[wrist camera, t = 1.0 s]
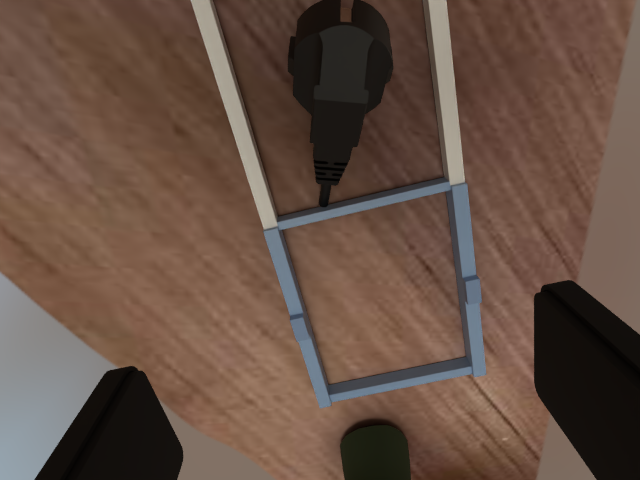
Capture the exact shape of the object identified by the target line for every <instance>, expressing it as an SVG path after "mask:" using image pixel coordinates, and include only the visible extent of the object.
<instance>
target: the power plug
mask: <svg viewBox="0 0 640 480" xmlns="http://www.w3.org/2000/svg"><path fill="white" fill-rule="evenodd" d="M392 71H393V58H392V49H391V44H390V34H389V28H388V26H387V23H386V22H385V20H384V18H383V17H382V15H381V14H380V13H379V12H378V11H377V10H376V9H375V8H374V7H372V6H371V5H369V4H368V3H366V2H364V1H361V0H354V2H353V8H352V9H350V8H341V0H322V1H320V2H318V3H316V4H314V5H312V6H311V7H310V8H308V9H307V10H306V11H305V12H304V13H303V14H302V15H301V16H300V18H299V19H298V22H297V31H296V37H294V36H291V38H290V46H289V54H288V72H289V73H290V74H292V75H293V76H294V81H293V95H294V97H295V98H296V100H297V101H298V102H299V103H300V104H301V105H302V106H303V107H304V108H305V109H306V110H307V111H308V112H309V113H310V114H311V116H312V120H311V132H310V143H313V144H314V148H313V158H314V167H315V175H316V182H317V183H318V184H321V191H320V198H319V205H320V206H321V207H327V206H328V202H329V196H330V190H331V185H338V183H339V181H340V178H341V177H342V174H343V173H344V170H345V168H346V166H347V164H348V162H349V160H350V156H351V151H352V148H353V147H357V146H358V142H359V138H360V134H361V129H362V125H363V120H364V116H365V114H366V113H368V112H369V111H371V110H372V109H374V108H375V107H376V106H377V105H378V104H380V102H381V98H382V95H383V91H384V87H385V84H386V83H387V82H389V81H390V78H391V75H392Z"/></svg>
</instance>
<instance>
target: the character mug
mask: <svg viewBox="0 0 640 480" xmlns="http://www.w3.org/2000/svg"><path fill="white" fill-rule="evenodd" d="M340 448H341V457H342V465H343V472H344V478H345V480H411V475H410V459H409V451H408V443H407V439H406V438H405V436H404V435H403V434H402V433H401V431H399V430H397V429H395V428H393V427H391V426H389V425H377V426H369V427H365V428H360V429H357V430H355V431H353V432H352V433H350V434H348V435H346V436H345V438H344V440H343V441H342V443H341V444H340Z"/></svg>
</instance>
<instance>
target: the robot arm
mask: <svg viewBox="0 0 640 480" xmlns="http://www.w3.org/2000/svg"><path fill="white" fill-rule="evenodd" d="M534 383H535V388H536V391H537V393H538V396H539V397H540V399H541V401H542V402H543V403H544V405H545V406H546V408H547V409H548V411H549V412H550V413H551V415H552V416H553V418H554V419H555V421H556V422H557V423H558V425H559V426H560V428H561V429H562V431H563V432H564V434H565V435H566V436H567V438H568V439H569V441H570V442H571V443H572V445H573V446H574V448H575V449H576V451H577V452H578V453H579V455H580V456H581V458H582V459H583V461H584V462H585V464H586V465H587V466H588V468H589V469H590V471H591V472H592V473H593V475H594V476H595V478H596V479H597V480H640V335H639V334H638V333H637V332H636V331H634V330H633V329H632V328H631V327H629V326H628V325H627V324H626V323H625V322H623V321H622V320H621V319H620V318H618V317H617V316H616V315H615V314H613V313H612V312H611V311H610V310H608V309H607V308H606V307H605V306H604V305H602V304H601V303H600V302H598V301H597V300H596V299H595V298H593V297H592V296H591V295H590V294H589V293H587V292H586V291H585V290H584V289H582V288H581V287H580V286H579V285H578V284H576V283H575V282H573V281H571V280H567V281H562V282H557V283H552V284H547V285H544V286H542V288H541V292H540V293H536V294H535V296H534ZM182 462H183V450H182V446H181V444H180V442H179V440H178V438H177V436H176V434H175V432H174V430H173V428H172V426H171V424H170V422H169V420H168V418H167V416H166V414H165V412H164V410H163V408H162V406H161V404H160V402H159V400H158V398H157V396H156V394H155V392H154V390H153V388H152V386H151V384H150V382H149V380H148V378H147V376H146V374H145V373H144V372H143V371H138V369H137V368H135V367H134V366H129V367H124V368H119V369H114V370H110V371H107V372H106V373H105V374H104V376H103V377H102V379H101V380H100V382H99V383H98V385H97V386H96V388H95V389H94V391H93V392H92V394H91V395H90V397H89V398H88V400H87V401H86V403H85V404H84V406H83V407H82V409H81V410H80V412H79V413H78V415H77V416H76V418H75V419H74V421H73V423H72V424H71V425H70V427H69V428H68V430H67V431H66V433H65V434H64V436H63V437H62V439H61V440H60V442H59V444H58V445H57V447H56V448H55V449H54V451H53V453H52V454H51V456H50V457H49V459H48V460H47V462H46V463H45V465H44V466H43V468H42V469H41V471H40V472H39V474H38V475H37V477H36V478H35V480H177V478H178V475H179V472H180V469H181V466H182Z"/></svg>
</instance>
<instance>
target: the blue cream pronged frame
mask: <svg viewBox="0 0 640 480" xmlns="http://www.w3.org/2000/svg"><path fill="white" fill-rule="evenodd" d="M422 1H423V9H424V17H425V25H426V33H427V41H428V50H429V58H430V66H431V74H432V82H433V90H434V99H435V107H436V115H437V123H438V131H439V139H440V148H441V156H442V164H443V172H444V177H443V178H438V179H434V180H430V181H426V182H422V183H417V184H413V185H409V186H405V187H401V188H396V189H392V190H388V191H384V192H380V193H375V194H371V195H367V196H363V197H359V198H354V199H350V200H346V201H342V202H338V203H333V204H329V205H328V206H327V207H317V208H312V209H308V210H304V211H300V212H296V213H291V214H287V215H283V216H279V217H278V215H277V212H276V208H275V205H274V202H273V198H272V195H271V192H270V189H269V185H268V182H267V179H266V175H265V172H264V169H263V165H262V162H261V159H260V155H259V152H258V149H257V145H256V142H255V139H254V135H253V132H252V129H251V125H250V122H249V119H248V115H247V112H246V109H245V105H244V102H243V99H242V95H241V92H240V89H239V85H238V82H237V79H236V75H235V72H234V69H233V65H232V62H231V59H230V55H229V52H228V49H227V45H226V42H225V39H224V36H223V32H222V29H221V26H220V22H219V19H218V16H217V12H216V9H215V6H214V2H213V0H191V3H192V6H193V9H194V12H195V15H196V18H197V22H198V25H199V28H200V31H201V34H202V37H203V40H204V44H205V47H206V50H207V53H208V56H209V59H210V62H211V65H212V69H213V72H214V75H215V78H216V81H217V84H218V87H219V90H220V94H221V97H222V100H223V103H224V106H225V109H226V112H227V116H228V119H229V122H230V125H231V128H232V131H233V134H234V137H235V141H236V144H237V147H238V150H239V153H240V156H241V159H242V162H243V166H244V169H245V172H246V175H247V178H248V181H249V184H250V187H251V191H252V194H253V197H254V200H255V203H256V206H257V209H258V213H259V216H260V219H261V222H262V225H263V228H264V231H263V232H264V235H265V238H266V242H267V245H268V248H269V251H270V254H271V257H272V260H273V263H274V267H275V270H276V273H277V276H278V279H279V282H280V285H281V288H282V291H283V295H284V298H285V301H286V304H287V307H288V310H289V313H290V322H291V325H292V328H293V331H294V334H295V338H296V341H297V342H299V344H300V348H301V351H302V354H303V357H304V360H305V363H306V366H307V369H308V372H309V376H310V379H311V382H312V385H313V388H314V391H315V394H316V397H317V400H318V404H319V407H320V408H324V407H329V406H332V405H331V402H335V401H340V400H345V399H350V398H355V397H360V396H365V395H370V394H375V393H380V392H385V391H390V390H395V389H400V388H405V387H410V386H415V385H420V384H425V383H430V382H435V381H440V380H445V379H450V378H454V377H459V376H464V375H469V374H473V376H474V377H478V376H483V375H486V367H485V357H484V347H483V337H482V327H481V317H480V307H479V303H481V302H482V300H481V289H480V279H479V278H478V276H477V275H476V267H475V257H474V247H473V237H472V227H471V217H470V207H469V197H468V187H467V183H465V177H464V168H463V158H462V148H461V138H460V128H459V119H458V109H457V99H456V89H455V79H454V70H453V60H452V50H451V40H450V30H449V21H448V11H447V1H446V0H422ZM444 191H446V197H447V205H448V213H449V221H450V229H451V237H452V246H453V254H454V262H455V270H456V278H457V286H458V295H459V303H460V311H461V319H462V327H463V335H464V344H465V352H466V357H463V358H458V359H453V360H448V361H443V362H439V363H434V364H429V365H424V366H419V367H414V368H409V369H404V370H400V371H395V372H390V373H385V374H380V375H375V376H370V377H365V378H361V379H356V380H351V381H346V382H341V383H336V384H331V385H328V381H327V378H326V375H325V371H324V368H323V365H322V361H321V358H320V355H319V351H318V348H317V345H316V342H315V338H314V335H313V332H312V328H311V325H310V322H309V318H308V315H307V312H306V308H305V305H304V302H303V298H302V295H301V292H300V288H299V285H298V282H297V278H296V275H295V272H294V268H293V265H292V262H291V258H290V255H289V252H288V248H287V245H286V242H285V238H284V235H283V232H282V230H283V229H287V228H291V227H295V226H300V225H304V224H308V223H312V222H317V221H321V220H325V219H329V218H334V217H338V216H342V215H346V214H351V213H355V212H359V211H363V210H368V209H372V208H376V207H380V206H385V205H389V204H393V203H397V202H402V201H406V200H410V199H414V198H419V197H423V196H427V195H431V194H436V193H440V192H444Z"/></svg>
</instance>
